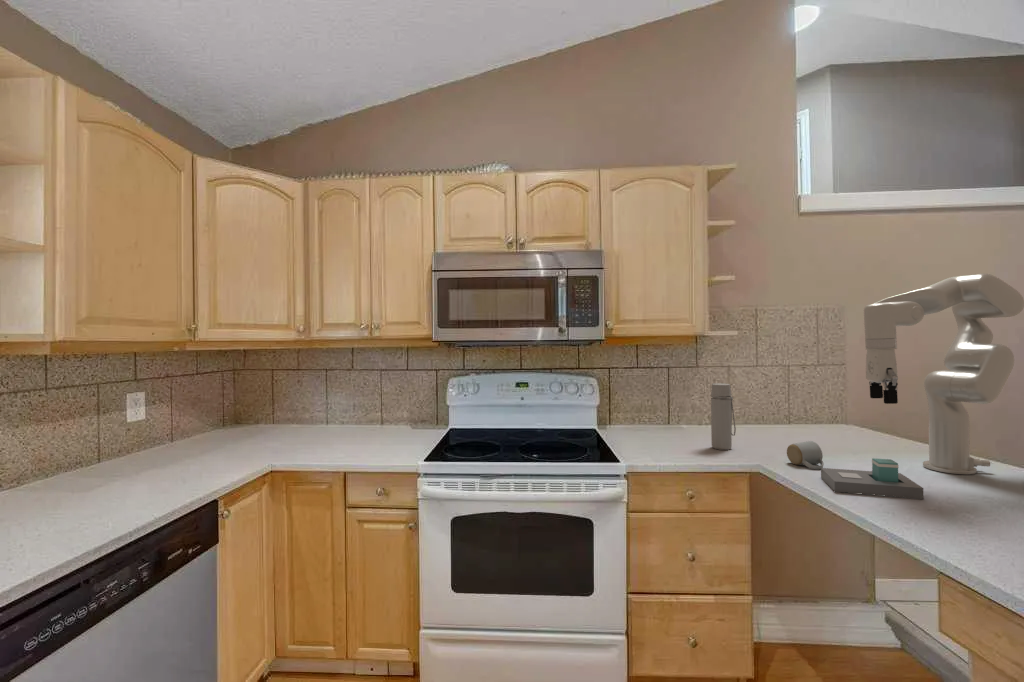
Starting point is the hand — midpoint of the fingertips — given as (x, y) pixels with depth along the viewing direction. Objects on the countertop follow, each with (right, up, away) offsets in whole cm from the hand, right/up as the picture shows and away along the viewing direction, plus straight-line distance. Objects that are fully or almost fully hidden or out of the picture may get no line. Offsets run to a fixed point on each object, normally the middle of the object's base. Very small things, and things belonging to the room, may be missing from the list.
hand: (883, 400), depth 142 cm
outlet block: (-11, -24, -8) cm, 27 cm away
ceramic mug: (-13, -24, +15) cm, 31 cm away
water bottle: (-30, -24, +41) cm, 56 cm away
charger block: (-7, -24, -9) cm, 27 cm away
